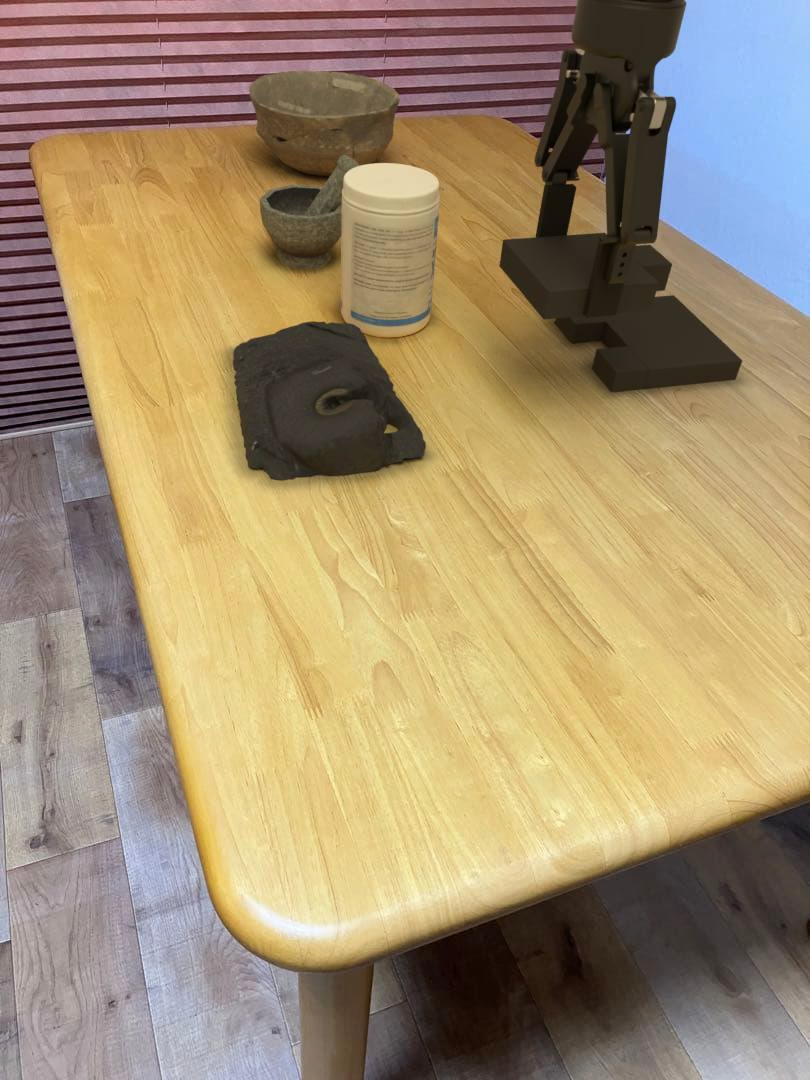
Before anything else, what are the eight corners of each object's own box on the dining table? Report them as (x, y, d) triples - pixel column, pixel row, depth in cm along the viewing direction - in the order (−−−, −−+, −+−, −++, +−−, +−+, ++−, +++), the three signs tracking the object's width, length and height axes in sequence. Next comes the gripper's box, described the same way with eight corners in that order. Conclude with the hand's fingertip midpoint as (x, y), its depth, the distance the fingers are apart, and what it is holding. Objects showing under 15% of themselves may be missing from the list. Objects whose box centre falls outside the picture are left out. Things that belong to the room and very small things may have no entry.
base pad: (667, 315, 98) (674, 295, 96) (734, 381, 88) (743, 360, 87) (553, 324, 95) (558, 303, 93) (610, 395, 85) (616, 372, 83)
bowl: (222, 157, 125) (217, 80, 118) (333, 133, 136) (334, 62, 129) (312, 204, 114) (312, 124, 107) (425, 174, 125) (431, 100, 119)
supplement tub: (447, 328, 92) (463, 188, 82) (372, 350, 88) (379, 205, 78) (395, 290, 98) (404, 155, 88) (322, 309, 93) (323, 168, 84)
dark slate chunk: (377, 340, 89) (379, 297, 86) (432, 471, 74) (437, 424, 71) (226, 349, 86) (222, 305, 83) (249, 488, 70) (246, 440, 67)
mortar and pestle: (258, 275, 98) (253, 166, 90) (265, 240, 105) (261, 136, 97) (358, 280, 99) (362, 172, 91) (358, 245, 106) (361, 142, 98)
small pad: (627, 256, 81) (634, 230, 80) (682, 306, 74) (690, 279, 73) (499, 266, 78) (502, 239, 76) (543, 320, 71) (548, 291, 69)
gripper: (523, -46, 68) (485, 233, 83) (668, 26, 52) (589, 355, 67) (609, -43, 70) (557, 229, 85) (774, 27, 54) (675, 346, 69)
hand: (571, 284), depth 76 cm, fingers closed on small pad, 10 cm apart
